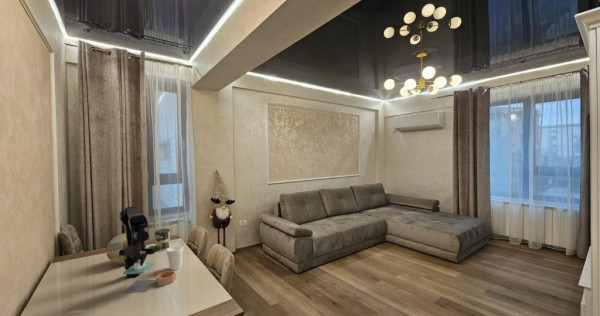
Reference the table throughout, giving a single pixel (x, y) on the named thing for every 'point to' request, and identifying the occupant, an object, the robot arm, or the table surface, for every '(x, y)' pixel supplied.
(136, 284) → the mat
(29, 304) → the table surface
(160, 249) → the coffee can
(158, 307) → the table surface
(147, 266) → the cover plate
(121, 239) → the decorative sphere
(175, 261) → the foam cup
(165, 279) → the bowl
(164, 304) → the table surface
